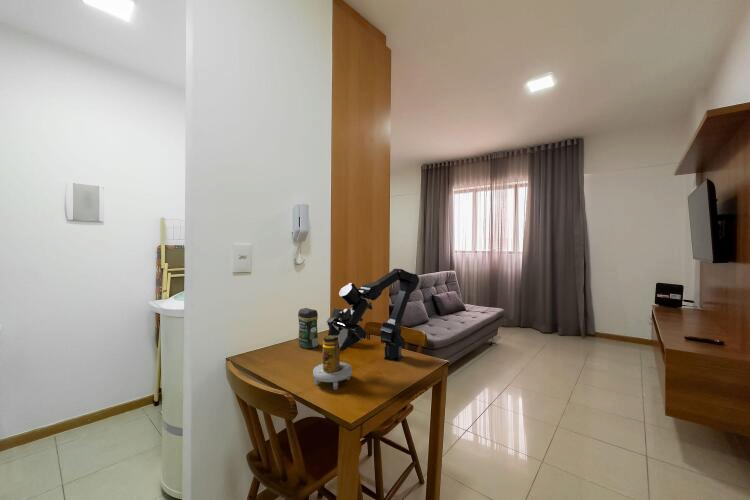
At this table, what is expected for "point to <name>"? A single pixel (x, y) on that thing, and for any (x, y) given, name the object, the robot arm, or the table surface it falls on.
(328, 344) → the condiment
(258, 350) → the table surface
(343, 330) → the glass holder
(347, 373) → the round white stand
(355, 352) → the table surface
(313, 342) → the coffee jar
